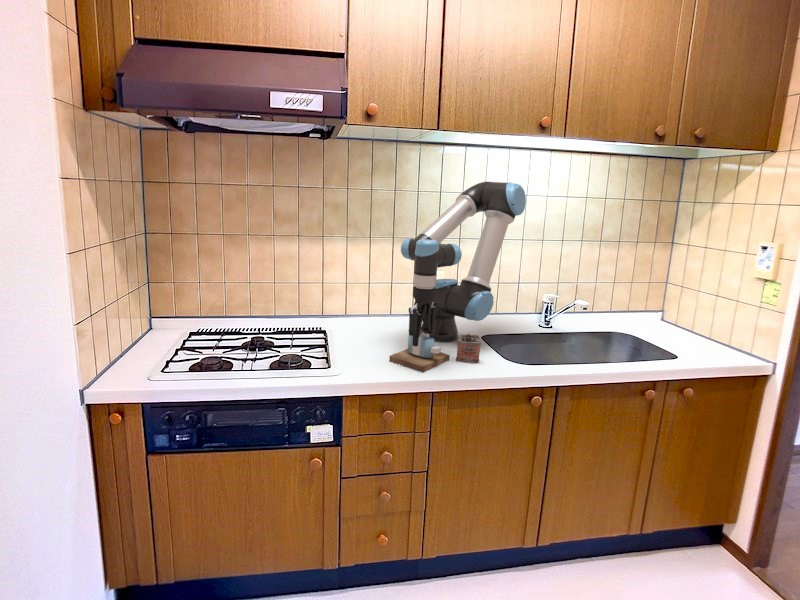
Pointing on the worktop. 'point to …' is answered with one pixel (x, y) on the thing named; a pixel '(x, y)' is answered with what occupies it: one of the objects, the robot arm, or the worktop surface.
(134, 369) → the worktop surface
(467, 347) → the lighter
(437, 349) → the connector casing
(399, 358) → the walnut board
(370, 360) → the worktop surface
